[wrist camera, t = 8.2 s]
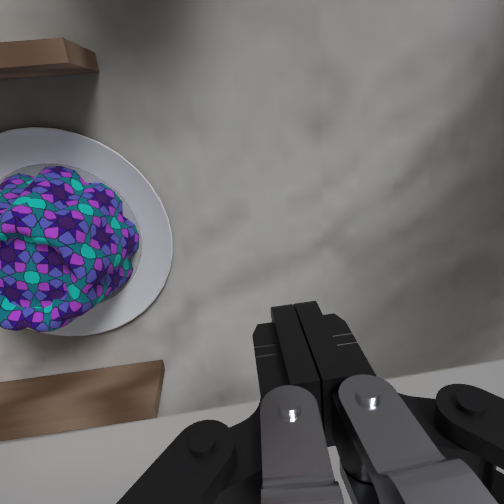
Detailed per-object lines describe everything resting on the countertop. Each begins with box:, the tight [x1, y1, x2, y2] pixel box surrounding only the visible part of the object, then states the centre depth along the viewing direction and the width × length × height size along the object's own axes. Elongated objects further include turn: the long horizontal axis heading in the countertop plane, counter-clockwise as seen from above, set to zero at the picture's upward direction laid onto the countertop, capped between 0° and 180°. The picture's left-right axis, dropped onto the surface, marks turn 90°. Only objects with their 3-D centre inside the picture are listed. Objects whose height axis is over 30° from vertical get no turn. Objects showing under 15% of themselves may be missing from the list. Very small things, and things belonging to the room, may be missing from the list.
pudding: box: [0, 127, 173, 336], centre depth 18 cm, size 12×12×5 cm
